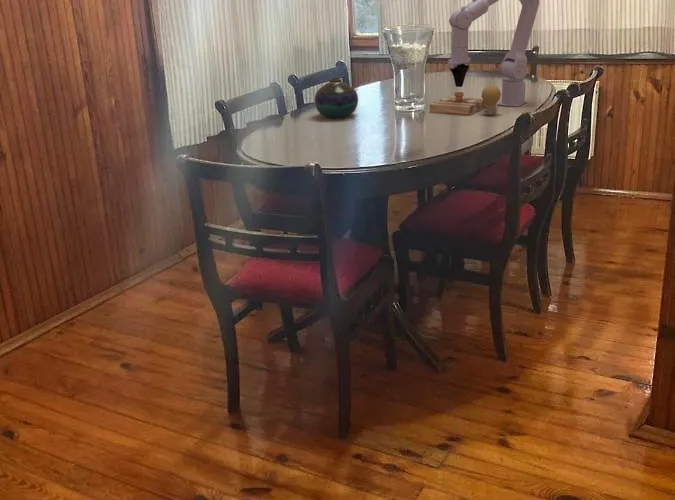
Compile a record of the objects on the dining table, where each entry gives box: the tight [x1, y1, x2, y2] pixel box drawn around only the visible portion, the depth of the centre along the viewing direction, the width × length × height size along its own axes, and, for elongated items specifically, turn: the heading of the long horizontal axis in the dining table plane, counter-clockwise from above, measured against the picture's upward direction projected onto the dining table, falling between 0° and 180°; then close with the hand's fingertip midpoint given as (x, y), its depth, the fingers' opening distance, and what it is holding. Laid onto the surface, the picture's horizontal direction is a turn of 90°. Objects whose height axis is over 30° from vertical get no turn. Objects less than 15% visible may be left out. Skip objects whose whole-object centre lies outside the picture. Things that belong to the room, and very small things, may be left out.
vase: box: [314, 77, 359, 119], centre depth 260 cm, size 15×15×13 cm
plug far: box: [441, 97, 451, 102], centre depth 267 cm, size 3×3×3 cm
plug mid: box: [453, 91, 465, 102], centre depth 263 cm, size 3×3×3 cm
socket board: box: [429, 95, 486, 117], centre depth 264 cm, size 16×15×3 cm
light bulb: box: [481, 84, 502, 116], centre depth 253 cm, size 6×6×10 cm
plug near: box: [467, 100, 476, 104], centre depth 261 cm, size 3×3×3 cm
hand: (459, 86), depth 262 cm, fingers closed
